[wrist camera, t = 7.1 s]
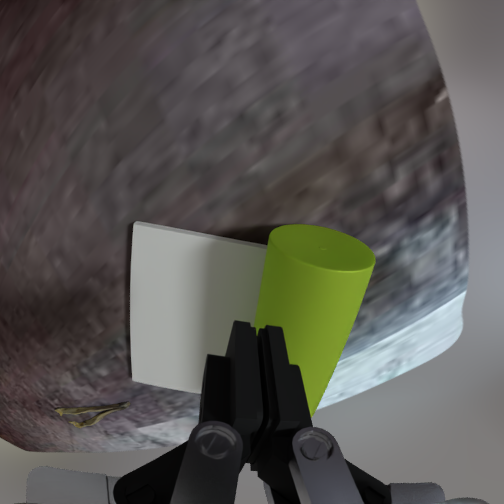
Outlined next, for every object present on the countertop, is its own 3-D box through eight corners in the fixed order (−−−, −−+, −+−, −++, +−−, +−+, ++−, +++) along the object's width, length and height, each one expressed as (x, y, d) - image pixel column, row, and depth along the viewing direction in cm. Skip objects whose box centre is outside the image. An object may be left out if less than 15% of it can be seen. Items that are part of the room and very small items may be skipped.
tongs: (140, 403, 28) (136, 418, 26) (80, 420, 31) (75, 431, 29) (111, 380, 26) (105, 395, 24) (55, 401, 29) (50, 413, 28)
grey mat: (282, 397, 27) (283, 402, 26) (133, 375, 25) (132, 380, 24) (342, 260, 21) (345, 264, 20) (136, 220, 19) (133, 224, 18)
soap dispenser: (407, 281, 13) (306, 470, 22) (345, 226, 19) (285, 413, 28) (297, 284, 12) (241, 480, 20) (257, 221, 18) (228, 419, 26)
